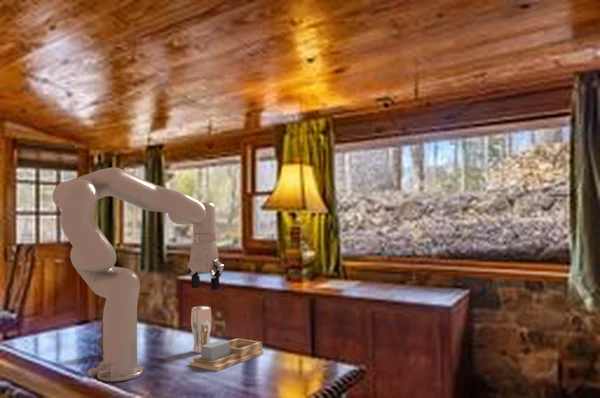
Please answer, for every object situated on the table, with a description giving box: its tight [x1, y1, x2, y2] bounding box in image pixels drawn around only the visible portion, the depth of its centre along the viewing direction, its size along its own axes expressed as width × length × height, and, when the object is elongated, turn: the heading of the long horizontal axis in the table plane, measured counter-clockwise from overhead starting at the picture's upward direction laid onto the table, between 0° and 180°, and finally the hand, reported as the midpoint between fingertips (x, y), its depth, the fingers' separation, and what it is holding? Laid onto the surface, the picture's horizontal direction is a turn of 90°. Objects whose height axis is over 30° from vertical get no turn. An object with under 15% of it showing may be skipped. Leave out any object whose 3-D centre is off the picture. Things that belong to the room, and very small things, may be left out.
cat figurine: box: [97, 318, 103, 356], centre depth 171 cm, size 8×8×12 cm
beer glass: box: [190, 305, 213, 355], centre depth 175 cm, size 7×7×15 cm
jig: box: [189, 337, 264, 372], centre depth 164 cm, size 22×12×4 cm, turn 145°
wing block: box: [200, 339, 230, 361], centre depth 159 cm, size 8×4×5 cm, turn 147°
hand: (205, 288), depth 172 cm, fingers open, 9 cm apart
